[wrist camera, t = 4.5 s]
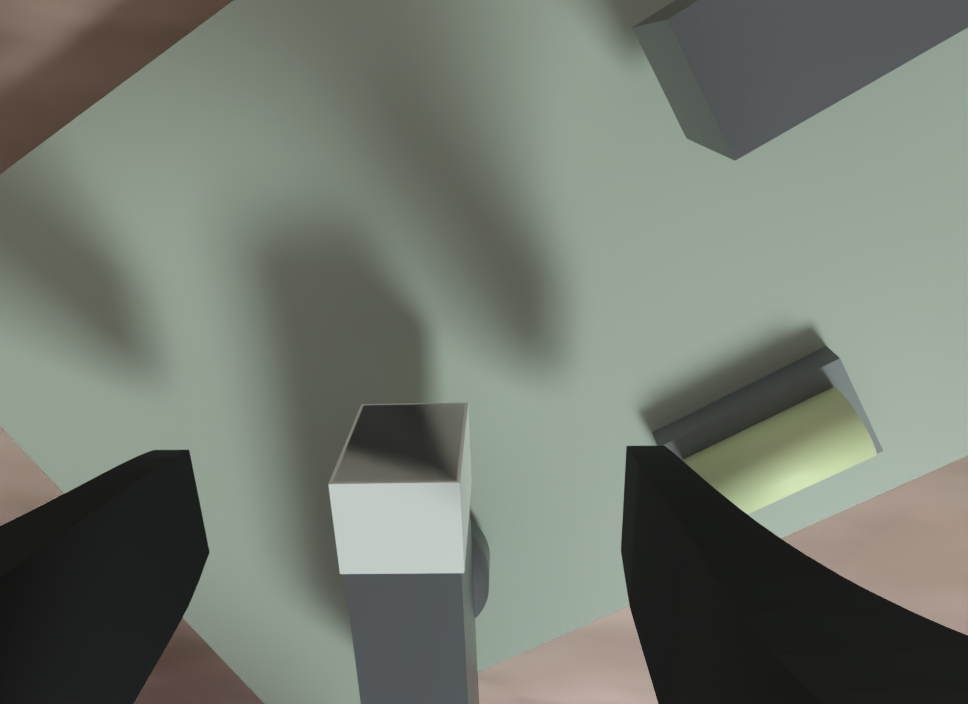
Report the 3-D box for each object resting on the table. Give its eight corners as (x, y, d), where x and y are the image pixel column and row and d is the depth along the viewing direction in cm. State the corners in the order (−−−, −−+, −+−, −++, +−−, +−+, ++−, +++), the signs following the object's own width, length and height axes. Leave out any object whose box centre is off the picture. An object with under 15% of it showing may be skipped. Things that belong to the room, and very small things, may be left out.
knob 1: (494, 697, 17) (492, 854, 13) (390, 697, 17) (362, 853, 13) (484, 379, 14) (477, 482, 10) (357, 382, 14) (310, 484, 10)
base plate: (318, 708, 19) (289, 811, 16) (-92, 261, 15) (-219, 306, 12) (1335, 243, 14) (1529, 285, 11) (1164, -664, 9) (1412, -935, 7)
